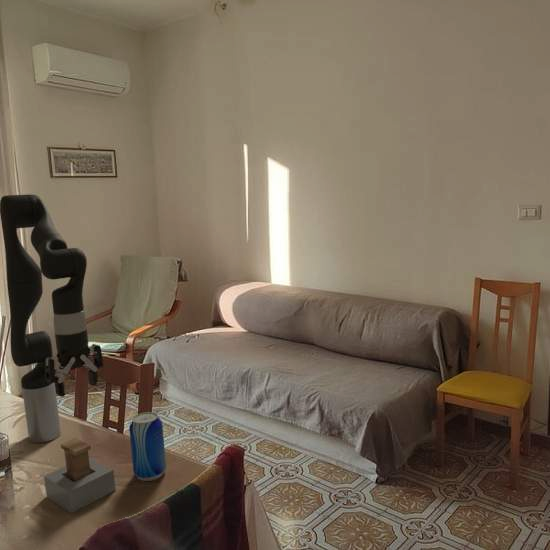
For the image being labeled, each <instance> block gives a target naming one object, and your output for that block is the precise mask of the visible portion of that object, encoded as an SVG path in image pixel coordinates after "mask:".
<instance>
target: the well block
mask: <svg viewBox="0 0 550 550" xmlns="http://www.w3.org/2000/svg"><path fill="white" fill-rule="evenodd" d="M89 464H90V473H91V474H90V475H88V476H86V477H84V478H82V479H79V480H77V481H75V482H73V481H71V480H70V479H68V476H67V468H66V465H64V466H63V467H60V468H58V469H55V470H53V471H51V472H50V473H47V474H45V475H44V476H43V478H44V479H43V480H44V485H45V494H46V497H47V498H48V499H50V500H51V501H53V503H56V504H57V505H59V506H60V507H61V508H63V509H64V510H66V511H67V512H69V513H70V514H73V513H75V512H77V511H78V510H81V509H83V508H84V507H86V506H88V505H90V504H92V503H94V502H96V501H98V500H99V499H102V498H104V497H105V496H107V495H109V494H112V493H113V492H114V491H116V482H115V473H114V469H113V468H111V467H109V466H107V465H105V464H103V463H101V462H100V461H98V460H96V459H94V458H92V457H91V456H89Z"/></svg>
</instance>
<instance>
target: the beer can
mask: <svg viewBox="0 0 550 550" xmlns="http://www.w3.org/2000/svg"><path fill="white" fill-rule="evenodd" d="M131 421H132V422H130V425H129V428H128V429H129V440H130V450H131V458H132V459H131V460H132V468H133V469H132V470H133V475H134V476H135V477H137V479H138V480H139V481H143V482H150V481H155V480H157V479H160V478H161V477H162V476H163V475H164V472H165V471H166V469H167V462H166V449H165V440H164V439H165V438H164V428H163V422H162V420H161V419H160V418H159V415H158V413H156V412H151V411H147V412H141V413H138V414H136V415H134V416H133V417H132V418H131Z"/></svg>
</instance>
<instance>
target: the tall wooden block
mask: <svg viewBox="0 0 550 550" xmlns="http://www.w3.org/2000/svg"><path fill="white" fill-rule="evenodd" d="M60 448H61V449H62V450H64V458H65V459H64V460H65V466H66V468H67V476H68V479H70V480H71V481H73V482H75V481H77V480H79V479H82V478H84V477H86V476H88V475H90V474H91V473H90V464H89V457H90V456H89V451H90V450H91V449H92V448H91V445H90V444H88V443H86V442H84V441H82V440H80V439H79V438H76V437H75V438H72V439H70V440H67V441H64V442H63V443H61V444H60Z"/></svg>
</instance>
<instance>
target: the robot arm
mask: <svg viewBox="0 0 550 550" xmlns="http://www.w3.org/2000/svg"><path fill="white" fill-rule="evenodd" d="M0 223H1V228H2V229H1V230H2V235H3V242H4V249H5V250H4V251H5V263H6V267H5V268H6V284H7V296H8V302H9V315H10V354H11V358H12V359H11V360H12V361H13V364H15V366H16V367H19V368H20V367H21V368H22V367H25V366H30V365H34V364H36V365H35V366H34V368H32V369H31V370H29V371H28V372H26V373H25V374H24V375H23V376H22V377H21V378H20V379H21V380H20V384H21V390H22V391H21V392H22V397H23V404H24V405H23V406H24V412H25V420H26V426H27V435H28V441H29V442H30V443H34V444H39V443H42V444H43V443H46V442H50V441H52V440H55V439H57V438H58V437H60V435H61V434H62V432H61V431H62V430H61V423H60V422H61V421H60V415H59V413H60V412H59V407H58V397H60V398H64V397H65V396H66V392H65V391H66V390H65V383H64V382H63V381H64V379H65V377H66V376H67V375H68V374H69V372H70V371H73V370H75V369H79V368H83V367H84V366H85V368H86V369H88V383H89V385H90V386H91V387H95V386H97V383H98V369H101V368H103V367H104V361H103V354H102V348H101V345H98V344H95V343H92V345H91V346H89V335H88V326H87V325H88V322H87V318H86V314H85V310H84V298H83V293H84V292H83V291H84V290H83V289H84V282H85V276H86V272H87V271H86V270H87V266H88V265H87V264H88V262H87V261H88V260H87V257H86V254H85V252H84V251H83V250H82V249H80V248H78V247H69V248H68V244H67V242H66V241H65V239H64V238H63V237H62V235H61V234H60V233H59V231H57V229H56V227H55V225H54V223H53V221H52V217H51V215H50V213H49V211H48V209H47V206H46V204H45V202H44V201H43V199H42V198H41V197H40V196H39V195H37V194H10V195H7V194H6V195H3V196H2V197H1V198H0ZM27 228H33V229H32V230H31V233H30V242H31V245H32V247H33V248H34V250H35V251H36V253H37V254H38V256H39V265H40V266H39V265H38V263H37V262H36V260H34V258H33V257H32V256H31V255H30V254H29V253H28V251H26V249H25V247H24V246H23V244H22V243H21V241H20V239H19V236H18V232H17V231H18V230H17V229H27ZM43 276H44V277H45V278H47V280H48V279H49V280H61V279H68V278H69V280H68V282H67V283H66V284H64V285H63V286H59V287H57V288H56V289H53V290H52V292H51V302H52V309H53V329H54V338H55V346H56V347H55V348H56V351H57V353H56V356H53V344H52V340H51V336H50V335H49V334H48V333H47V331H44V330H41V331H35V332H30V333H27V332H26V331H27V326H28V324H29V323H28V322H29V320H30V318H31V316H32V314H33V312H34V311H35V309H36V308H37V306H38V305H39V302H40V301H41V298H42V295H43V291H44V290H43V289H44V288H43ZM90 354H92V357H93V362H92V361H91V360H90V359H89V357H90ZM57 363H59V364H58V366H57ZM55 366H57V368H56V370H55ZM55 371H56V372H55ZM57 396H58V397H57Z"/></svg>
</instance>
